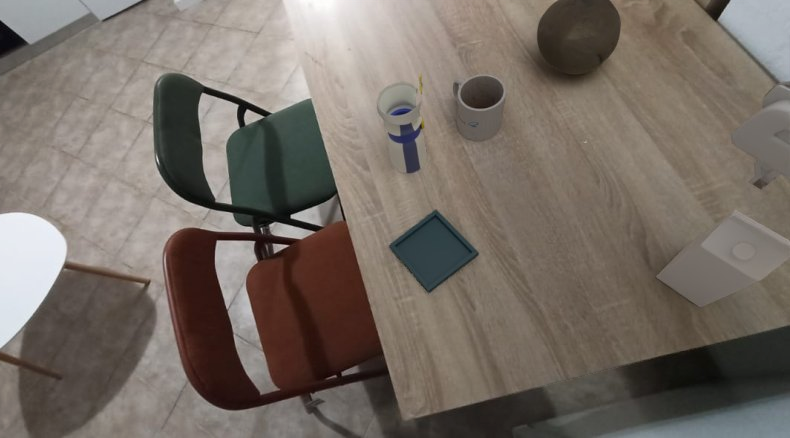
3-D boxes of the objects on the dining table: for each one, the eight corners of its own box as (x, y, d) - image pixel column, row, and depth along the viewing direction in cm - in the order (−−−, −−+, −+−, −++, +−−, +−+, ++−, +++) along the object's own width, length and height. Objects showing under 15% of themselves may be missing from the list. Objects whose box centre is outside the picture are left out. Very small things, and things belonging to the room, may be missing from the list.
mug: (509, 129, 89) (515, 98, 81) (469, 147, 90) (470, 118, 81) (480, 88, 95) (482, 55, 86) (442, 105, 96) (441, 73, 87)
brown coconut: (607, 36, 92) (632, -28, 79) (606, 90, 87) (633, 31, 74) (532, 38, 97) (545, -22, 84) (528, 89, 92) (540, 34, 79)
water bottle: (421, 134, 95) (412, 48, 73) (434, 166, 91) (428, 85, 69) (384, 147, 96) (364, 66, 74) (395, 179, 92) (378, 103, 70)
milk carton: (683, 247, 72) (752, 196, 55) (730, 277, 69) (818, 231, 52) (654, 277, 72) (715, 234, 55) (699, 308, 68) (779, 272, 51)
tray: (478, 255, 81) (478, 252, 79) (428, 293, 81) (428, 291, 79) (436, 212, 86) (436, 209, 85) (389, 247, 86) (388, 245, 85)
